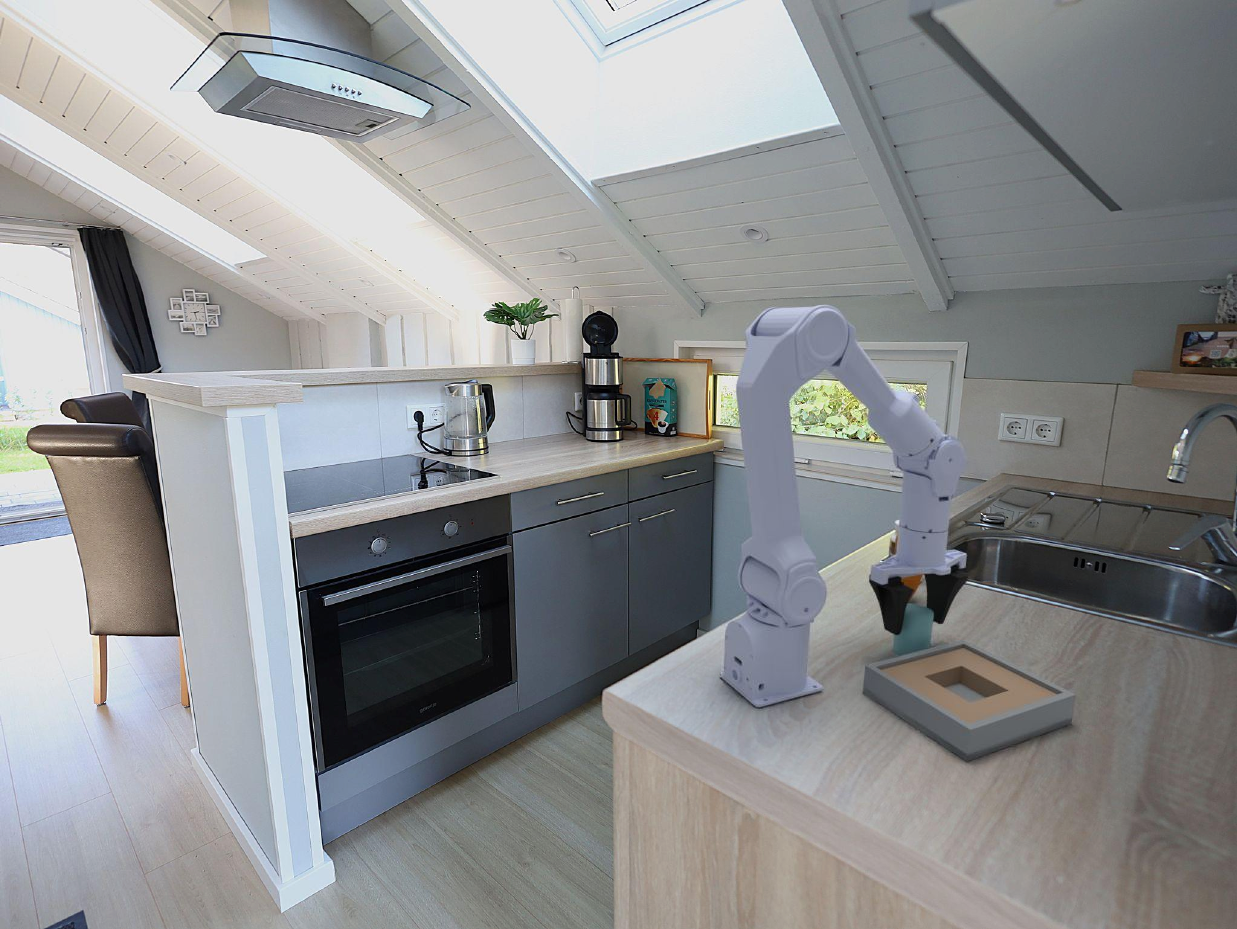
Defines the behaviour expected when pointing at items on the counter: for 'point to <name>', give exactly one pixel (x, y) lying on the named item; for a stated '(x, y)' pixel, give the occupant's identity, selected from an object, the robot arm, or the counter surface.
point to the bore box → (968, 698)
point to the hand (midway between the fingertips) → (914, 626)
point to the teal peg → (914, 630)
